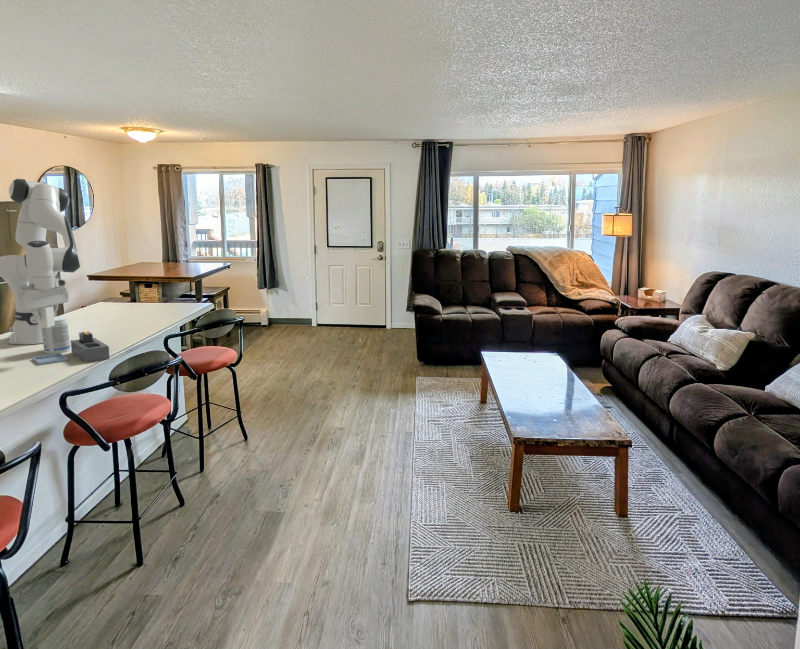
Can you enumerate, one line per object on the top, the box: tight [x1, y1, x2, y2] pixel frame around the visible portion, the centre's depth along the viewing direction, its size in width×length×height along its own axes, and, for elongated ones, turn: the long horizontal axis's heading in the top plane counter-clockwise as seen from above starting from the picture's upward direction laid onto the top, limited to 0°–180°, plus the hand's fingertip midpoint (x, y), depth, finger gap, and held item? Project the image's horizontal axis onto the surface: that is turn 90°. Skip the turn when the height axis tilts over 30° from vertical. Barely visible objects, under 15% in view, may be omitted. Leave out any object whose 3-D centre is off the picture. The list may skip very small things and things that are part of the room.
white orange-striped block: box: [37, 306, 55, 328], centre depth 212 cm, size 5×4×8 cm
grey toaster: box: [70, 331, 110, 363], centre depth 223 cm, size 18×9×10 cm, turn 46°
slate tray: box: [31, 353, 69, 366], centre depth 215 cm, size 10×10×2 cm
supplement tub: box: [42, 315, 71, 355], centre depth 228 cm, size 10×10×15 cm
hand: (45, 317), depth 212 cm, fingers closed on white orange-striped block, 6 cm apart
